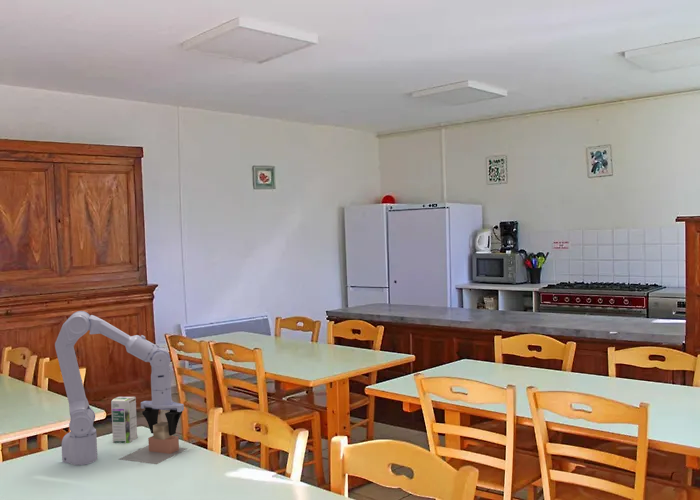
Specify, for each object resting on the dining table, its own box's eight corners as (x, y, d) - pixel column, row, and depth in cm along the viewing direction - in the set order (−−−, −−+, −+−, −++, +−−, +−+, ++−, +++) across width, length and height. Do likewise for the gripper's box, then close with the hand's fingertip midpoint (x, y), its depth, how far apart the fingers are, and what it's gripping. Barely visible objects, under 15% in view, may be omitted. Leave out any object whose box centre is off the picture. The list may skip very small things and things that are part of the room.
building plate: (118, 462, 192) (118, 459, 192) (150, 447, 205) (150, 444, 205) (156, 467, 186) (156, 464, 186) (187, 451, 199) (187, 448, 199)
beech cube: (153, 438, 197) (152, 425, 197) (162, 434, 201) (161, 421, 201) (164, 439, 196) (163, 426, 196) (172, 435, 199) (172, 422, 199)
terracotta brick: (148, 451, 198) (148, 437, 198) (157, 447, 202) (157, 434, 202) (170, 453, 195) (169, 440, 195) (179, 449, 199) (178, 436, 199)
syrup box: (112, 446, 208) (110, 400, 207) (121, 440, 214) (119, 395, 213) (129, 446, 207) (127, 400, 206) (138, 440, 213) (136, 395, 212)
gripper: (189, 387, 199) (191, 431, 199) (151, 384, 205) (152, 427, 205) (174, 392, 192) (176, 438, 193) (135, 389, 198) (137, 434, 198)
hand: (163, 433), depth 198 cm, fingers open, 6 cm apart
